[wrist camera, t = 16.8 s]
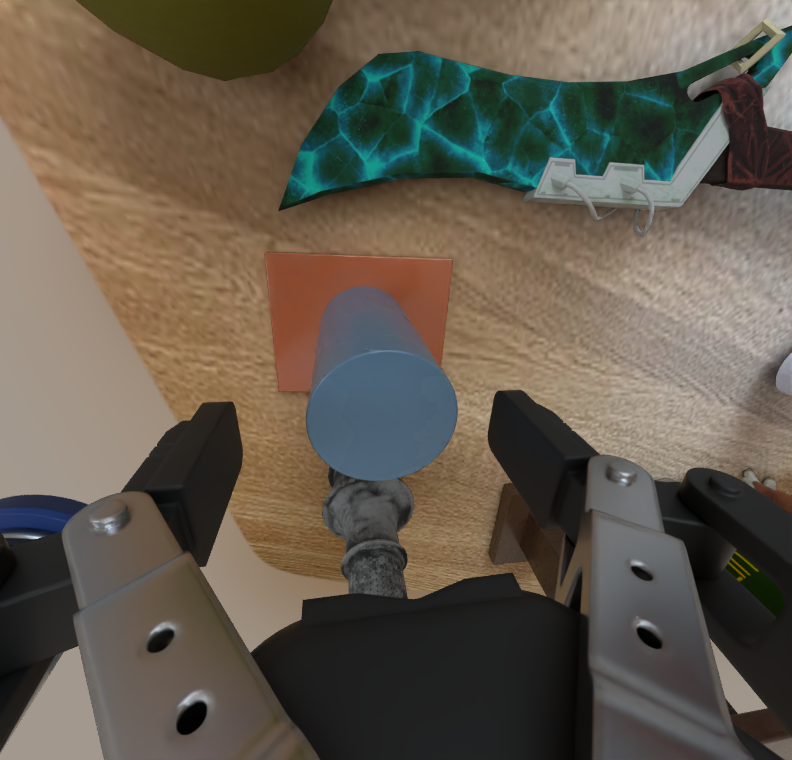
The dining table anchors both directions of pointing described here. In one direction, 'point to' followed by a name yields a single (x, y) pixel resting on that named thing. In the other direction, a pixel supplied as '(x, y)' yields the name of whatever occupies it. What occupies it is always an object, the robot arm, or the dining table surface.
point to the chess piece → (370, 531)
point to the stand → (541, 548)
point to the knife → (552, 131)
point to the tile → (334, 273)
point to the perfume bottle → (785, 376)
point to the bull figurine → (769, 490)
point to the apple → (216, 31)
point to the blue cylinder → (376, 390)
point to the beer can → (752, 578)
